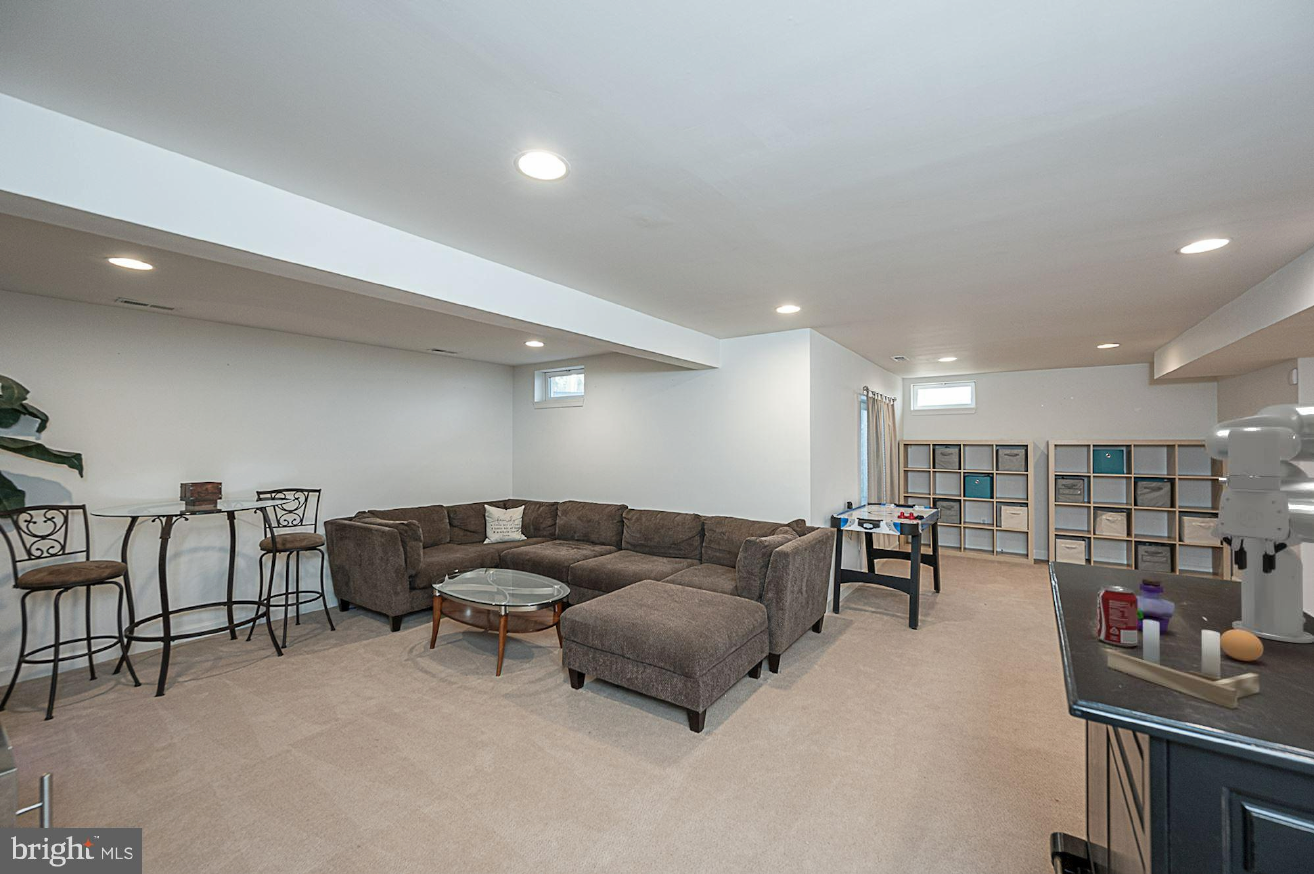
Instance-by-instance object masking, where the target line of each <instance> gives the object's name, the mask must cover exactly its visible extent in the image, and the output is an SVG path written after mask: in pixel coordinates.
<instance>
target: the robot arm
mask: <svg viewBox="0 0 1314 874" xmlns="http://www.w3.org/2000/svg"><path fill="white" fill-rule="evenodd" d="M1204 446H1205V450H1206V453H1207V454H1208V456H1210V457H1211V458H1212V459H1214V460H1219V461H1227V472H1228V474H1227V475H1226V477H1219V478H1218V484H1220V485H1224V486H1225V485H1226V487H1227V489H1222V492H1221V494H1220V500H1219V508H1218V516H1217V517H1218V518H1217V524H1216V526H1215V527H1214V528H1213V529H1212V531H1211V532H1210V535H1211V536H1212V537H1215V538H1216V539H1218V540H1220V541H1222V542H1223V543H1225V544H1226V545H1227V546H1229V547H1230V548H1231V550H1232V551H1233V561H1234V562H1233V564H1234V565H1235V566H1237V570H1238V571H1239V570H1240V572H1241V573H1240V575H1241V578H1240V579H1241V586H1240V587H1241V589H1240V590H1241V620H1236V621H1232V622H1231V623H1232V625H1231V626H1232V628H1233V630H1234V629H1238V630H1244V631H1247V632H1250V633H1252V634H1253V635H1255V636H1256V637H1257V638H1263V639H1267V640H1273V641H1277V642H1278V641H1279V642H1286V643H1295V644H1310V643H1314V635H1313V634H1311V633H1310V632H1307V631H1304V624H1305V623H1306V622H1307V619H1306V617H1304V596H1303V595H1304V592H1303V591H1304V590H1303V589H1304V586H1303V585H1304V584H1303V582H1304V580H1303V578H1304V576H1303V574H1304V573H1303V571H1304V568H1303V567H1304V566H1303V562H1302V559H1301V558H1300V556H1299V555H1298V553H1296V551H1295V550H1293V549H1292V548H1291V547H1295V546H1299V545H1302V544H1303V543H1307V544H1314V477H1309V476H1308V473H1306V471H1305V470H1303V469H1302V468H1301V467H1299V466H1298V465H1296V464H1295V463H1292V462H1301V463H1302V462H1306V463H1307V462H1309V463H1310V462H1313V463H1314V402H1312V403H1291V404H1289V403H1288V404H1287V403H1285V404H1275V405H1269V406H1267V407H1264V408H1262V409H1260V410H1259V411H1258V412H1257V413H1256V414H1255V415H1252V416H1251V415H1250V416H1246V417H1243V418H1242V417H1241V418H1237V419H1232V420H1227V421H1223V422H1219V423H1216V424H1214V426H1212V428H1211V429H1209V431H1208V433H1207V434H1206V437H1205V441H1204Z"/></svg>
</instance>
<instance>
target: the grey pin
mask: <svg viewBox="0 0 1314 874" xmlns="http://www.w3.org/2000/svg"><path fill="white" fill-rule="evenodd" d="M1160 649H1161V648H1160V634H1159V622H1157V621H1153V620H1143V631H1142V660H1144V661H1148V662H1151V663H1154V664H1157V665H1160V658H1161V656H1160V655H1161V653H1160V652H1161V650H1160ZM1160 666H1161V665H1160Z"/></svg>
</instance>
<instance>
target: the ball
mask: <svg viewBox="0 0 1314 874" xmlns="http://www.w3.org/2000/svg"><path fill="white" fill-rule="evenodd" d="M1220 648H1221V649H1222V650H1223V651H1224V653H1226V654H1227V655H1228V656H1230V657H1231V658H1233V659H1236V660H1238V661H1244V662H1252V661H1255V660H1258V659H1259V658H1260V657H1261V656H1262V655H1263V653H1264V645H1263V642H1262V641H1261V639H1260V638H1259V637H1258V636H1255V635H1253V634H1252V633H1250V632H1247V631H1244V630H1238V629H1234V628H1233V629H1229V630H1226V631H1225V632H1224V633H1222V634H1221V635H1220Z"/></svg>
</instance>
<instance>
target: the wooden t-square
mask: <svg viewBox="0 0 1314 874" xmlns="http://www.w3.org/2000/svg"><path fill="white" fill-rule="evenodd" d="M1107 667H1108V668H1109V667H1110V668H1109V669H1112V670H1115V669H1116V671H1118V670H1119V672H1121V671H1122V672H1121V673H1124V674H1127V673H1128V674H1127V675H1130V676H1133V677H1136V678H1139V679H1142V680H1145V681H1148V682H1151V683H1154V684H1157V685H1160V686H1162V687H1166V688H1168V689H1171V690H1174V691H1177V692H1181V693H1184V694H1186V695H1189V696H1192V697H1195V698H1198V699H1201V700H1204V701H1207V702H1209V703H1213V704H1216V705H1219V706H1222V707H1225V708H1227V709H1231V710H1234V709H1238V699H1239V698H1243V697H1246V696H1250V695H1254V694H1258V693H1260V675H1259V674H1257V673H1253V672H1249V673H1244V674H1240V675H1236V676H1231V677H1228V678H1221V677H1220V678H1217V677H1214V676H1210V675H1206V674H1202V672H1198V671H1194V670H1188V671H1187V673H1186V672H1183V671H1179V670H1176V669H1172V668H1170V667H1167V666H1164V665H1157V664H1154V663H1151V662H1148V661H1144V660H1143V659H1141V658H1137V657H1134V656H1131V655H1128V654H1124V653H1122V652H1118V651H1115V650H1109V651H1107Z"/></svg>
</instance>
